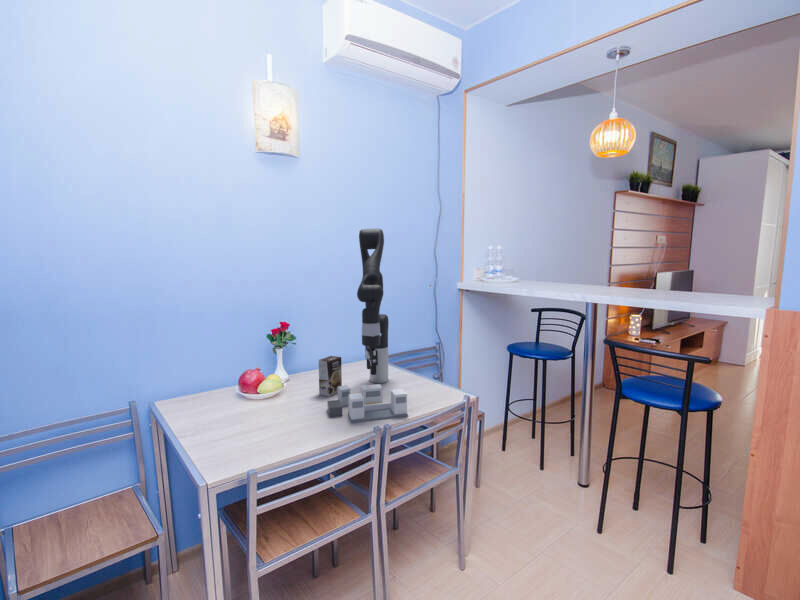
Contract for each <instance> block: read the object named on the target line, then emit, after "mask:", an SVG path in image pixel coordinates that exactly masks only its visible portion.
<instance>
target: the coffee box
mask: <svg viewBox="0 0 800 600" xmlns="http://www.w3.org/2000/svg"><path fill="white" fill-rule="evenodd" d="M342 374H343V373H342V357H341V356H335V355H334V356H333V355H330V356H327V357H324V358H321V359H318V389H319V390H318V394H319V395H321V396H325V397H333V396H334V395H336V394H338V387H339V386H343V379H342V378H343V376H342Z"/></svg>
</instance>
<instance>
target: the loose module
mask: <svg viewBox="0 0 800 600" xmlns="http://www.w3.org/2000/svg"><path fill="white" fill-rule="evenodd" d="M360 390H361V391H360V393H362V395H363V397H364V405H367V404H376V403H384V402H383V401H384V399H383V398H384V397H383V395H384V394H383V386H382V385H381V383H375V384H367V385H366V384H365V385H364V384H363V385H361V386H360Z"/></svg>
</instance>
